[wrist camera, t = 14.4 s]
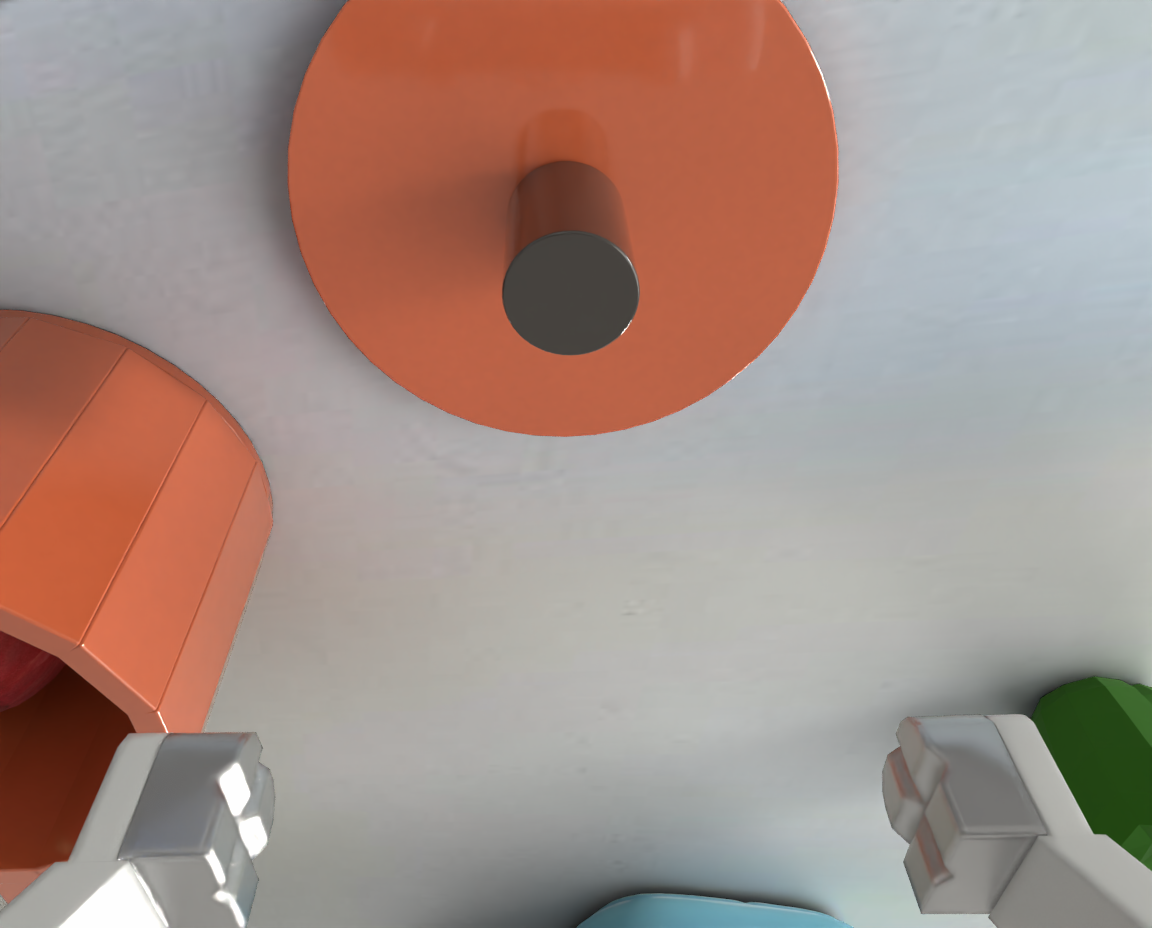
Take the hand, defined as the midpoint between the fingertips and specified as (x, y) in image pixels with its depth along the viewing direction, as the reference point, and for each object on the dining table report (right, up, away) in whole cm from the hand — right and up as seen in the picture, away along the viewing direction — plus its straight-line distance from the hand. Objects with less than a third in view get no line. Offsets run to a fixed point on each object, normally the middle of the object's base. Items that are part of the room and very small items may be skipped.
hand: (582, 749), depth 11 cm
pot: (-17, +3, +19) cm, 26 cm away
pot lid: (0, +11, +13) cm, 17 cm away
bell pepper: (+23, -7, +29) cm, 38 cm away
